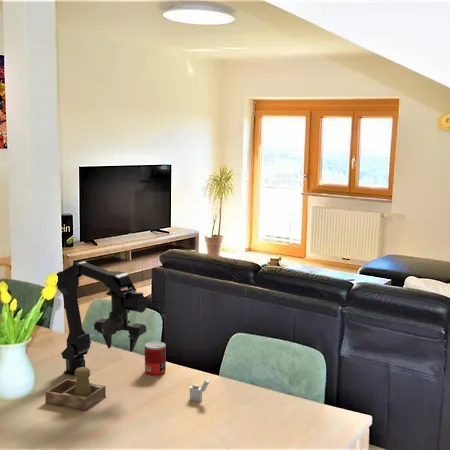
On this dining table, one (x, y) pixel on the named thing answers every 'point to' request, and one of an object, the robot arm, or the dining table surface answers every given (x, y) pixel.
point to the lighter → (198, 391)
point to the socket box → (66, 395)
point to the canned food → (155, 358)
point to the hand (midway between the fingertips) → (120, 349)
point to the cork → (82, 382)
